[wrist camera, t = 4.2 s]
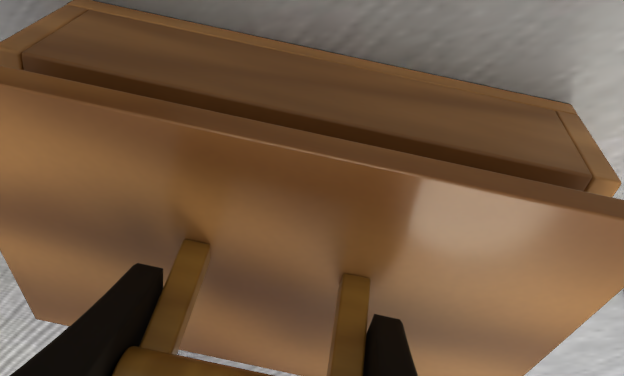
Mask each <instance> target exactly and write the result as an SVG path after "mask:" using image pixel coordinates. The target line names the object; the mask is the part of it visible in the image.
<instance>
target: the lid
mask: <svg viewBox="0 0 624 376" xmlns="http://www.w3.org/2000/svg"><path fill="white" fill-rule="evenodd" d="M0 251H1V253H2V255H3V257H4V259H5V260H6V262H7V264H8V266H9V268H10V270H11V272H12V274H13V276H14V278H15V280H16V282H17V283H18V285H19V287H20V289H21V291H22V293H23V295H24V297H25V299H26V301H27V303H28V305H29V307H30V308H31V310H32V312H33V314H34V316H35V318H36V319H39V320H43V321H48V322H53V323H57V324H62V325H67V326H71V325H72V324H73V323H74V322H75V321H76V320H77V319H78V318H80V317H81V316H82V315H83V314H84V313H85V312H86V311H87V310H88V309H89V308H91V307H92V306H93V305H94V304H95V303H96V302H97V301H98V300H99V299H100V298H101V297H102V296H103V295H104V294H105V293H106V292H107V291H108V290H109V289H110V288H111V287H112V286H113V285H114V284H115V283H116V282H117V281H118V280H119V279H120V278H121V277H122V276H123V275H124V274H125V273H126V272H127V271H128V270H129V269H130V268H131V267H132V266H133V265H135V264H136V263H140V264H145V265H150V266H154V267H159V268H163V290H162V292H161V295H160V297H159V300H158V302H157V304H156V307H155V309H154V312H153V314H152V317H151V319H150V321H149V324H148V326H147V329H146V331H145V333H144V336H143V338H142V341H141V343H140V346H139V347H137V346H131V347H129V348H128V349H127V350H126V351H125V352H124V353H123V355H122V356H121V358H120V360H119V361H118V363H117V365H116V367H115V369H114V371H113V374H112V376H273V375H268V374H264V373H259V372H254V371H250V370H245V369H240V368H236V367H231V366H226V365H222V364H217V363H212V362H208V361H203V360H198V359H193V358H189V357H184V356H179V355H177V353H178V350H184V351H188V352H193V353H198V354H202V355H207V356H212V357H217V358H221V359H226V360H231V361H235V362H240V363H245V364H249V365H254V366H259V367H263V368H268V369H273V370H277V371H282V372H287V373H292V374H296V375H301V376H363V368H364V357H365V345H366V334H367V331H368V329H369V326H370V323H371V321H372V318H373V316H374V314H378V315H382V316H387V317H391V318H396V319H400V320H401V322H402V323H403V326H404V330H405V334H406V338H407V341H408V345H409V349H410V352H411V355H412V359H413V362H414V365H415V368H416V371H417V374H418V376H524V375H525V374H526V373H527V372H528V371H530V370H531V369H532V368H533V367H534V366H535V365H536V364H538V363H539V362H540V361H541V360H542V359H543V358H544V357H546V356H547V355H548V354H549V353H550V352H551V351H552V350H554V349H555V348H556V347H557V346H558V345H559V344H560V343H561V342H563V341H564V340H565V339H566V338H567V337H568V336H569V335H571V334H572V333H573V332H574V331H575V330H576V329H577V328H579V327H580V326H581V325H582V324H583V323H584V322H585V321H587V320H588V319H589V318H590V317H591V316H592V315H593V314H595V313H596V312H597V311H598V310H599V309H600V308H601V307H603V306H604V305H605V304H606V303H607V302H608V301H609V300H610V299H612V298H613V297H614V296H615V295H616V294H617V293H618V292H620V291H621V290H622V289H623V288H624V200H621V199H616V198H612V197H607V196H603V195H598V194H593V193H589V192H584V191H579V190H575V189H570V188H566V187H561V186H556V185H552V184H547V183H542V182H538V181H533V180H529V179H524V178H519V177H515V176H510V175H505V174H501V173H496V172H492V171H487V170H482V169H478V168H473V167H468V166H464V165H459V164H455V163H450V162H445V161H441V160H436V159H431V158H427V157H422V156H418V155H413V154H408V153H404V152H399V151H394V150H390V149H385V148H381V147H376V146H371V145H367V144H362V143H357V142H353V141H348V140H344V139H339V138H334V137H330V136H325V135H320V134H316V133H311V132H307V131H302V130H297V129H293V128H288V127H283V126H279V125H274V124H270V123H265V122H260V121H256V120H251V119H246V118H242V117H237V116H233V115H228V114H223V113H219V112H214V111H209V110H205V109H200V108H196V107H191V106H186V105H182V104H177V103H172V102H168V101H163V100H159V99H154V98H149V97H145V96H140V95H136V94H131V93H126V92H122V91H117V90H112V89H108V88H103V87H99V86H94V85H89V84H85V83H80V82H75V81H71V80H66V79H62V78H57V77H52V76H48V75H43V74H38V73H34V72H29V71H25V70H20V69H15V68H11V67H6V66H1V65H0Z"/></svg>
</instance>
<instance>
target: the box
mask: <svg viewBox="0 0 624 376" xmlns="http://www.w3.org/2000/svg"><path fill="white" fill-rule="evenodd" d="M0 65H1V66H6V67H11V68H15V69H20V70H25V71H29V72H34V73H38V74H43V75H48V76H52V77H57V78H62V79H66V80H71V81H75V82H80V83H85V84H89V85H94V86H99V87H103V88H108V89H112V90H117V91H122V92H126V93H131V94H136V95H140V96H145V97H149V98H154V99H159V100H163V101H168V102H172V103H177V104H182V105H186V106H191V107H196V108H200V109H205V110H209V111H214V112H219V113H223V114H228V115H233V116H237V117H242V118H246V119H251V120H256V121H260V122H265V123H270V124H274V125H279V126H283V127H288V128H293V129H297V130H302V131H307V132H311V133H316V134H320V135H325V136H330V137H334V138H339V139H344V140H348V141H353V142H357V143H362V144H367V145H371V146H376V147H381V148H385V149H390V150H394V151H399V152H404V153H408V154H413V155H418V156H422V157H427V158H431V159H436V160H441V161H445V162H450V163H455V164H459V165H464V166H468V167H473V168H478V169H482V170H487V171H492V172H496V173H501V174H505V175H510V176H515V177H519V178H524V179H529V180H533V181H538V182H542V183H547V184H552V185H556V186H561V187H566V188H570V189H575V190H579V191H584V192H589V193H593V194H598V195H603V196H607V197H613V196H614V194H615V193H616V191H617V190H618V188H619V187H620V185H621V181H620V179H619V178H618V176H617V175H616V173H615V172H614V170H613V168H612V167H611V165H610V164H609V162H608V161H607V159H606V158H605V156H604V155H603V153H602V151H601V150H600V148H599V147H598V145H597V144H596V142H595V141H594V139H593V138H592V136H591V134H590V133H589V131H588V130H587V128H586V127H585V125H584V124H583V122H582V121H581V119H580V117H579V116H578V115H577V113H576V111H575V110H574V108H573V106H572V105H570V104H566V103H561V102H557V101H552V100H547V99H543V98H538V97H534V96H529V95H524V94H520V93H515V92H511V91H506V90H501V89H497V88H492V87H488V86H483V85H478V84H474V83H469V82H465V81H460V80H455V79H451V78H446V77H441V76H437V75H432V74H428V73H423V72H418V71H414V70H409V69H405V68H400V67H395V66H391V65H386V64H382V63H377V62H372V61H368V60H363V59H359V58H354V57H349V56H345V55H340V54H336V53H331V52H326V51H322V50H317V49H313V48H308V47H303V46H299V45H294V44H290V43H285V42H280V41H276V40H271V39H267V38H262V37H257V36H253V35H248V34H244V33H239V32H234V31H230V30H225V29H220V28H216V27H211V26H207V25H202V24H197V23H193V22H188V21H184V20H179V19H174V18H170V17H165V16H161V15H156V14H151V13H147V12H142V11H138V10H133V9H128V8H124V7H119V6H115V5H110V4H105V3H101V2H96V1H92V0H73V1H71V2H69V3H67V5H65V6H63V7H61V8H59V9H58V10H56V11H54V12H52V13H51V14H49V15H47V16H45V17H44V18H42V19H40V20H38V21H37V22H35V23H33V24H31V25H30V26H28V27H26V28H24V29H23V30H21V31H19V32H17V33H16V34H14V35H12V36H10V37H8V38H7V39H5V40H3V41H1V42H0Z"/></svg>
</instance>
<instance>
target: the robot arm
mask: <svg viewBox="0 0 624 376" xmlns="http://www.w3.org/2000/svg"><path fill="white" fill-rule="evenodd" d="M162 290H163V268H159V267H154V266H150V265H145V264H140V263H136V264H135V265H133V266H132V267H131V268H130V269H129V270H128V271H127V272H126V273H125V274H124V275H123V276H122V277H121V278H120V279H119V280H118V281H117V282H116V283H115V284H114V285H113V286H112V287H111V288H110V289H109V290H108V291H107V292H106V293H105V294H104V295H103V296H102V297H101V298H100V299H99V300H98V301H97V302H96V303H95V304H94V305H93V306H92V307H91V308H89V309H88V310H87V311H86V312H85V313H84V314H83V315H82V316H81V317H80V318H78V319H77V320H76V321H75V322H74V323H73V324H72V325H71V326H70V327H68V328H67V329H66V330H65V331H64V332H63V333H62V334H61V335H59V336H58V337H57V338H56V339H55V340H53V341H52V342H51V343H50V344H49V345H47V346H46V347H45V348H44V349H42V350H41V351H40V352H39V353H38V354H36V355H35V356H34V357H33V358H32V359H30V360H29V361H28V362H27V363H25V364H24V365H23V366H22V367H20V368H19V369H18V370H16V371H15V372H14V373H13V374H11V375H10V376H112V374H113V371H114V369H115V367H116V365H117V363H118V361H119V360H120V358H121V356H122V355H123V353H124V352H125V351H126V350H127V349H128V348H129V347H131V346H137V347H139V346H140V343H141V341H142V338H143V336H144V333H145V331H146V329H147V326H148V324H149V321H150V319H151V317H152V314H153V312H154V309H155V307H156V304H157V302H158V300H159V297H160V295H161V292H162ZM363 376H418V374H417V371H416V368H415V365H414V362H413V359H412V355H411V352H410V349H409V345H408V341H407V338H406V334H405V330H404V326H403V323H402V322H401V320H400V319H396V318H391V317H387V316H382V315H378V314H374V316H373V318H372V321H371V323H370V326H369V329H368V331H367V334H366V345H365V357H364V368H363Z"/></svg>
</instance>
